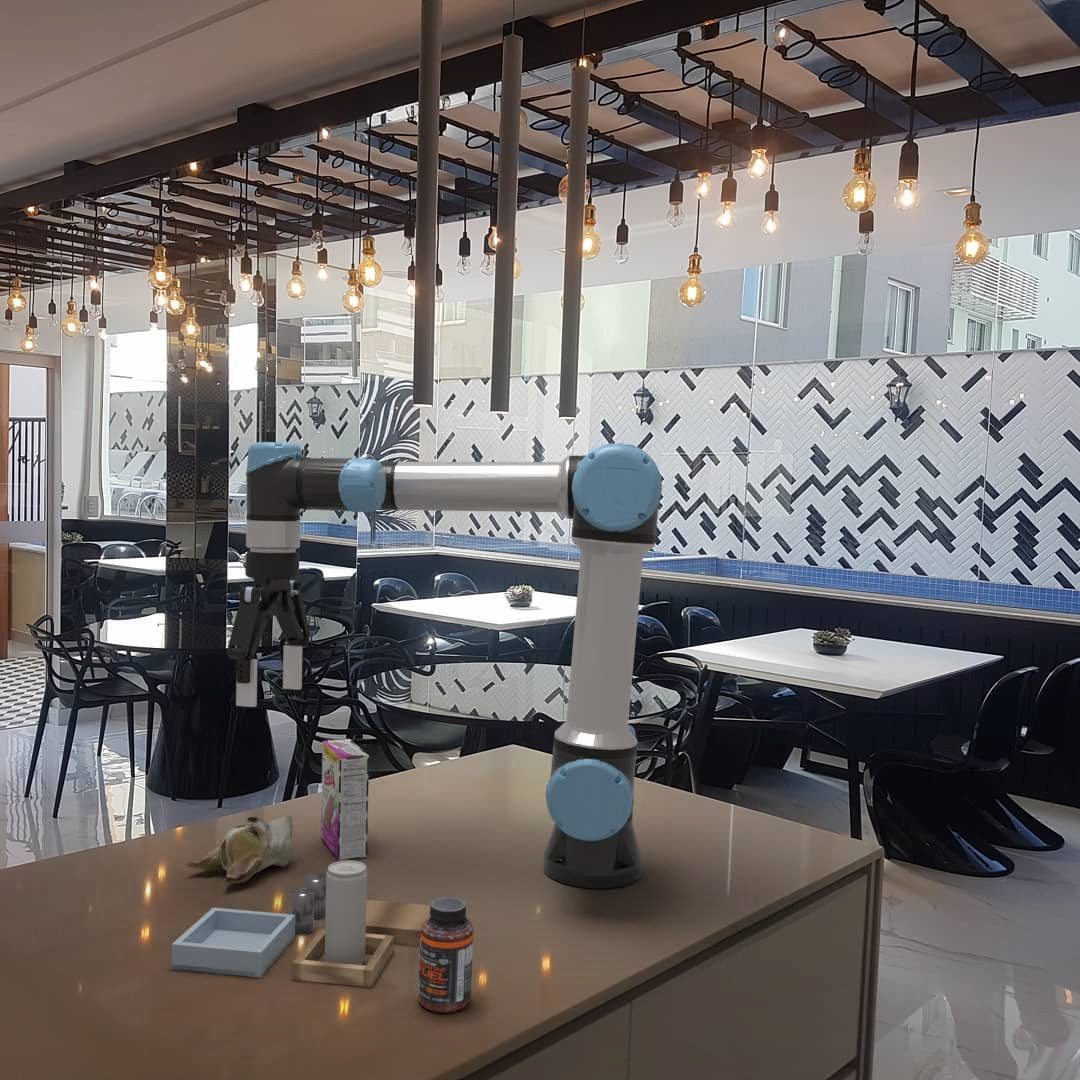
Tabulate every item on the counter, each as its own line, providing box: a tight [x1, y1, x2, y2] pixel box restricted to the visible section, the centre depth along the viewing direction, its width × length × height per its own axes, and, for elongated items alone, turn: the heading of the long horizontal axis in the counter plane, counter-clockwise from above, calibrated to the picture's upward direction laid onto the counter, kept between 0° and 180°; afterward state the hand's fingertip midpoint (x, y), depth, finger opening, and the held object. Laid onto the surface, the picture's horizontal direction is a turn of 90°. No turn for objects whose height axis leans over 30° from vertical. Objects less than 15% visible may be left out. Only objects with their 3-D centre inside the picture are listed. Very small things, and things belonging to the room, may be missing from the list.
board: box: [366, 899, 431, 947], centre depth 135 cm, size 10×8×2 cm
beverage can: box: [324, 860, 368, 965], centre depth 124 cm, size 5×5×12 cm
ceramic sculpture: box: [186, 814, 294, 884], centre depth 153 cm, size 11×9×15 cm
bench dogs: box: [289, 873, 327, 936], centre depth 136 cm, size 3×8×5 cm, turn 173°
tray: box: [170, 907, 296, 979], centre depth 126 cm, size 11×11×3 cm
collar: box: [291, 928, 395, 988], centre depth 124 cm, size 10×10×2 cm
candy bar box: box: [320, 738, 370, 862], centre depth 164 cm, size 11×5×16 cm, turn 26°
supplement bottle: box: [417, 896, 474, 1014], centre depth 116 cm, size 6×6×11 cm
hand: (270, 697), depth 149 cm, fingers open, 13 cm apart
